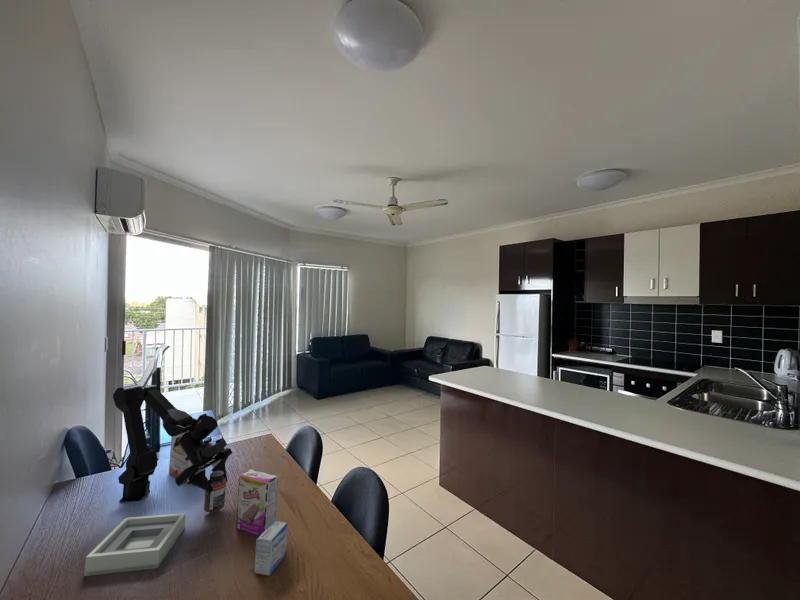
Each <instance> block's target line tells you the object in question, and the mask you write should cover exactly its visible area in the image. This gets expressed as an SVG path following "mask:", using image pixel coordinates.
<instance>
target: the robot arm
mask: <svg viewBox="0 0 800 600" xmlns="http://www.w3.org/2000/svg"><path fill="white" fill-rule="evenodd" d="M112 399H113V401H114V404H115V407H116V408H117V409H118V410H119V411H120V412H121V413H122V416H123V419H124V421H123V422H124V425H125V431H126V437H127V443H128V448H129V455H128V456H127V459H126V462H125V470H124V471H123V472H122V473H120V475H119V476H118V478H117V480H118V483H119V484H120V485H123V487H122V489H123V490H122V498H120V499H119V500H118V501H119V503H124V502H125V503H126V502H127V503H128V502H140V501H142V500H143V499H144V498H145V497H146V496H147V495H148V494H149V493H150V492H151V490H150V486H151V485H150V484H151V481H150V480H149V479H150V476H153V475H154V473H155V471H156V468H157V466H158V461H159V459H158V456H157V450H156V449H151V448H150V447H149V445H148V440H147V437H146V436H147V435H146V430H145V425H144V418H143V413H142V407H143V403H144V402H145V403H146V404H147V405H148V406H149V408H151V410H152V411H153V412H155V414H156V415H157V416H158V417H159V418H160V420H162V428H163V429H164V431H165V433H166V434H167V435H168V436H170V437H172V436H177V435H180V434H182V433H185V432H187V431H190V432H187V433H185V434H183V435H182V436H181V437H178V438H176V441H175V444H174V447H176V446H179V445H180V446H181V447H182V449H183V450H184V452H185V454H186V455H187V457H186V458H185V460H186V461H188V460H190V462H191V463H192V466H190V467H188V468H186V469H185V470H184V471H183V472H182V473H180V474H179V475H178V476H177V477H175V484H176V486H177V487H178V488H180V487H181V486H183V485H184V484H186V485H187V486H188V485H192V486H194V487H197V488H199V489H202V490H204V491H205V490H206V491H208V492H210V493H211V492H212V491H213V488H212V486H211V484H210V482H209V481H208V480H209V479H208V477H207V476H206V469H207V468H209V467H211V466H212V468H211V471H212V472H215V471H223V472H224V476H223V477H224V478H225V479H226V483H228V480H229V479H228V475H227V469H226V462H227V461H228V459H229V457H230V456H232V454H233V453H234V452H233V451H232V449H231V448H230V447H227V445H228V444H227V441H226V440H225V439H224V437H221V438H219V439H216V440H215V443H213V444H211V445H210V444H209V443H207V442H206V443H205V442H204V440H205V439H206V438H208V437H209V436H210V434H212V433H213V432H214V431H215V430H216V429H217V428H218V425H219V424H218V423H219V422H218V420H217V419H216V418H214V417H213V416H211V415H208V414H207V413H203V414H200V415H199V416H198V417H197V418H194V417H193V416H192V415H190V414H189V413H187V412H186V411H184V410H180V409H178V408H176V407H175V406H174V405H173V404H172V403H171V401H170V400H168V399H167V398H166V397H165V395H164V394H162V392H161V391H160V390H159V388H158V386H157V385H156V384H150V385H141V384H131V385H127V386H123V387H122V386H121V387H118V388H116V390H115V391H114V392H113V394H112ZM202 440H203V441H202ZM212 472H211V473H212ZM187 479H188V480H189V482H188V483H186V482H187Z"/></svg>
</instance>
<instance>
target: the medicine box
mask: <svg viewBox="0 0 800 600" xmlns="http://www.w3.org/2000/svg"><path fill="white" fill-rule="evenodd" d="M255 539H256V540H255V541H256V542H255V544H256V545H255V556H254V558H255V559H254V573H255V574H258V575H259V574H260V575H263V576H264V575H265V576H269V577H270V576H271V574H272V573H273V571H275V569H276V567H278V565H279V564H280V562H281V561H282V560H283V559H284V557H285V556H286V555H287V539H288V523H287V522H284V521H278V520H275V521H274V522H273V523H272V524H271V525H270V526H269V527H268V528H267V529H266V530H265V531H264V532H263V533H262V534H261V535H260V536H257V538H255Z"/></svg>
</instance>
